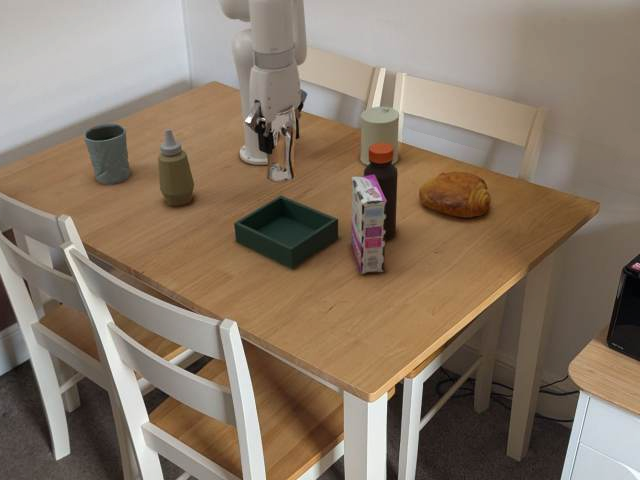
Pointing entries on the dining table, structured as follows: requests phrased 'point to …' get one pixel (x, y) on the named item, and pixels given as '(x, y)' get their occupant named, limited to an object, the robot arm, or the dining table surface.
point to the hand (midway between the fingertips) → (279, 144)
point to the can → (379, 130)
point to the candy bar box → (368, 224)
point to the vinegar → (385, 180)
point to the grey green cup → (108, 152)
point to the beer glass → (282, 147)
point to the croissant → (456, 194)
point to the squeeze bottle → (174, 172)
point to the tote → (286, 231)
